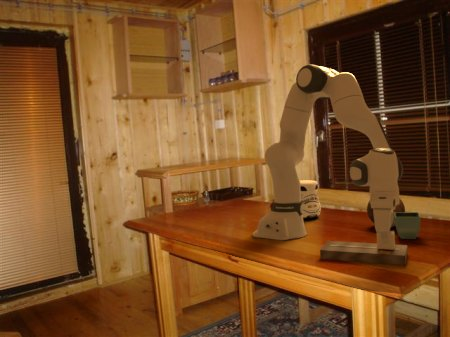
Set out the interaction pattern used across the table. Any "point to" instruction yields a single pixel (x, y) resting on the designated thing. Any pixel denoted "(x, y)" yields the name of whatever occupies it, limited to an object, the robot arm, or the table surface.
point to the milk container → (310, 199)
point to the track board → (363, 253)
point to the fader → (390, 241)
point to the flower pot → (407, 224)
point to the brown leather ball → (398, 208)
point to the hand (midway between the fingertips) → (386, 240)
